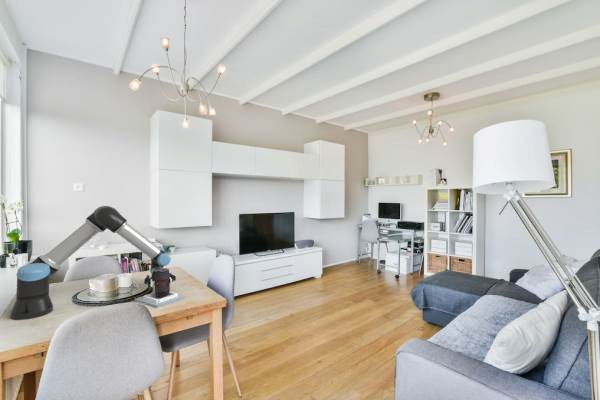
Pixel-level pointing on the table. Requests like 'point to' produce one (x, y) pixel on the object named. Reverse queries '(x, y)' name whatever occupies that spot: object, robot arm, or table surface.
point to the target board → (159, 299)
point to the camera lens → (162, 282)
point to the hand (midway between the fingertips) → (161, 283)
